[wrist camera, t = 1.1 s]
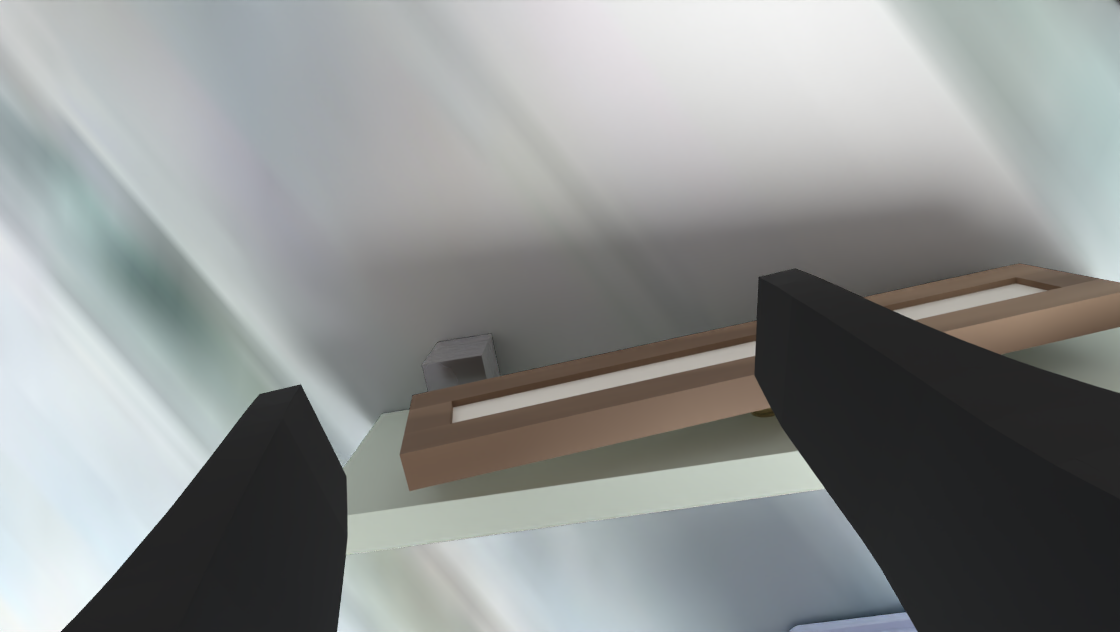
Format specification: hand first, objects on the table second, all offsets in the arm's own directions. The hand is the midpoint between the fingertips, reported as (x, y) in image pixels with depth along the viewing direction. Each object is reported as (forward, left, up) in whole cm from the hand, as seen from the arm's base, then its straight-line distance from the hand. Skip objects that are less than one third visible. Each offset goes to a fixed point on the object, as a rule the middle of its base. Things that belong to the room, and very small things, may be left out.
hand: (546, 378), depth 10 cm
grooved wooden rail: (-3, -5, -10) cm, 12 cm away
